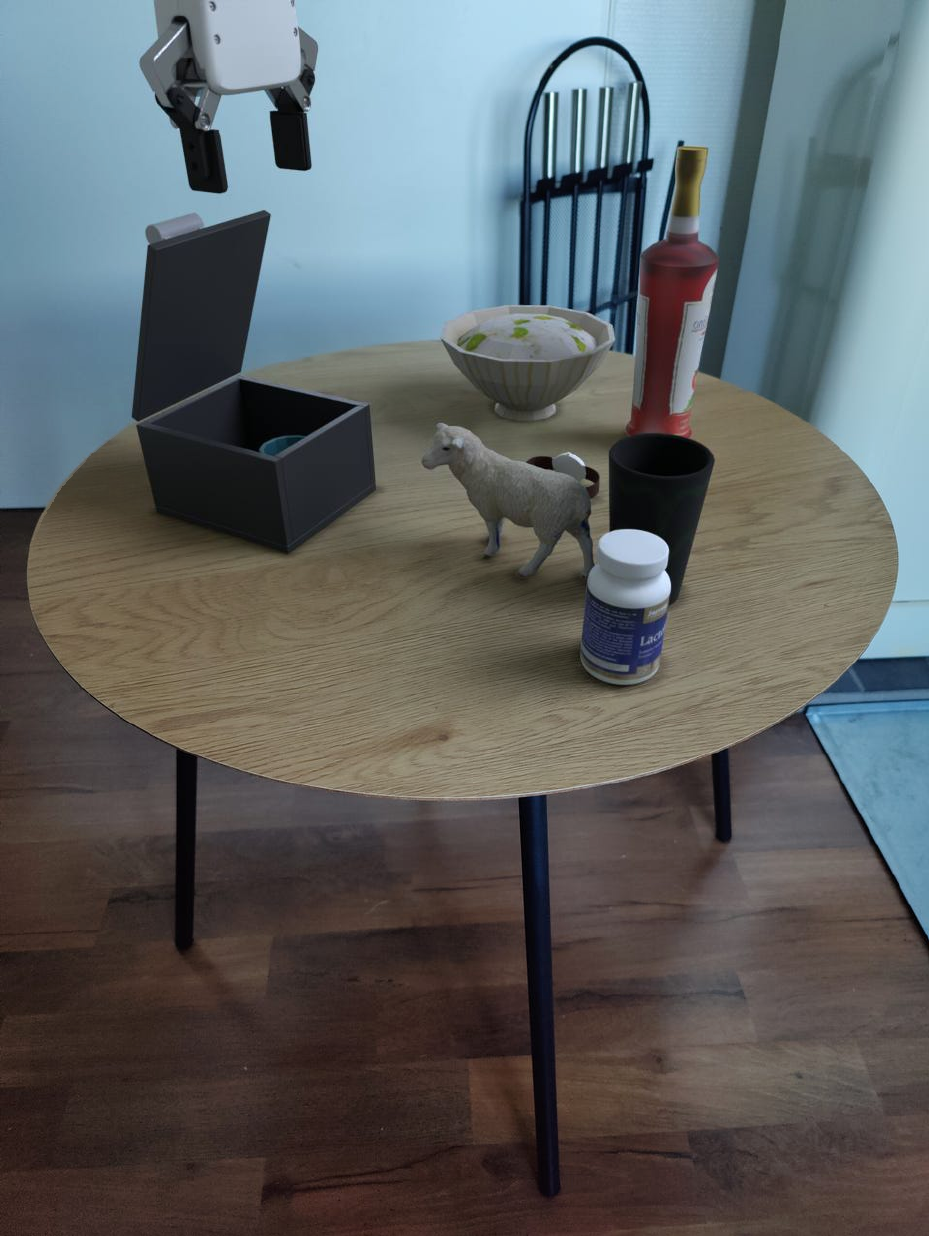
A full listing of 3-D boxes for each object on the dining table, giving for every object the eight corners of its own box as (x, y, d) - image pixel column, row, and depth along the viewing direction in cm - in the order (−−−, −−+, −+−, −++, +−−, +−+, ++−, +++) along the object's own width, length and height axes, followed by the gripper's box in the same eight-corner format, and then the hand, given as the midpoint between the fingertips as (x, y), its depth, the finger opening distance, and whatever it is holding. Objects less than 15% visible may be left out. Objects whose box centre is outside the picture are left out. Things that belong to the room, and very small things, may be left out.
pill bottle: (651, 695, 63) (668, 575, 57) (571, 678, 65) (580, 559, 59) (665, 648, 67) (683, 531, 61) (590, 632, 69) (600, 517, 63)
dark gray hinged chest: (376, 489, 88) (369, 403, 83) (288, 554, 79) (274, 461, 73) (251, 456, 95) (238, 374, 89) (156, 512, 85) (135, 424, 80)
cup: (650, 629, 69) (669, 488, 62) (577, 588, 74) (587, 453, 67) (712, 591, 73) (736, 455, 66) (638, 554, 78) (653, 423, 71)
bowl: (407, 406, 105) (402, 319, 99) (527, 365, 115) (529, 284, 109) (523, 461, 93) (525, 366, 87) (645, 410, 103) (655, 322, 97)
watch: (607, 491, 87) (610, 456, 85) (585, 511, 84) (588, 476, 82) (537, 472, 91) (539, 438, 89) (513, 490, 88) (514, 456, 86)
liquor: (633, 423, 100) (663, 139, 84) (699, 434, 98) (743, 144, 81) (613, 449, 95) (640, 151, 79) (682, 462, 92) (725, 156, 76)
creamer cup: (272, 520, 82) (263, 465, 79) (264, 493, 86) (255, 439, 83) (331, 511, 83) (325, 456, 80) (320, 484, 87) (314, 431, 84)
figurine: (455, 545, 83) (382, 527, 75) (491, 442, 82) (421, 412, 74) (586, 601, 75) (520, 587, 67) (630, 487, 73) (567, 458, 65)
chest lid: (271, 213, 78) (226, 184, 78) (155, 249, 68) (105, 215, 69) (241, 372, 89) (202, 345, 90) (137, 422, 80) (95, 391, 80)
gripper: (257, -102, 66) (286, 158, 76) (67, -115, 54) (132, 196, 64) (341, -106, 63) (360, 165, 73) (160, -122, 51) (212, 206, 61)
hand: (253, 179), depth 69 cm, fingers open, 9 cm apart
